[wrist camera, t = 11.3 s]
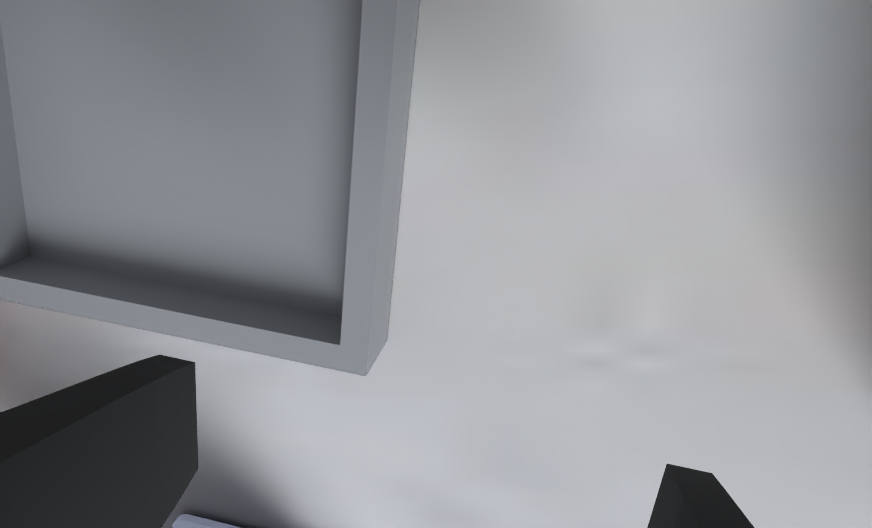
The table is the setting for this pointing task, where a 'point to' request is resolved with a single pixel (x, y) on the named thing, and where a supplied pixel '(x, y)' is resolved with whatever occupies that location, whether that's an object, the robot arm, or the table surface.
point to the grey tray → (208, 167)
